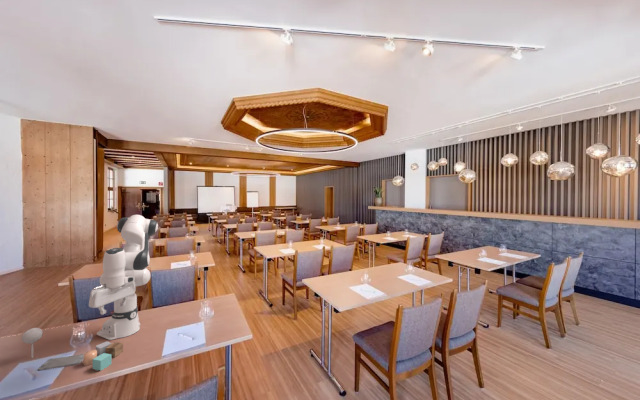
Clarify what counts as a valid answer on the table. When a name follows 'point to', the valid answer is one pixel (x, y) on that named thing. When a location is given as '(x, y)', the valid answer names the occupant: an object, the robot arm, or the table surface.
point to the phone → (62, 362)
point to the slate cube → (102, 347)
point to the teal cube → (102, 361)
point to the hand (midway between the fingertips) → (113, 309)
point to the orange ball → (89, 357)
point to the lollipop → (32, 337)
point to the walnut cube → (114, 349)
